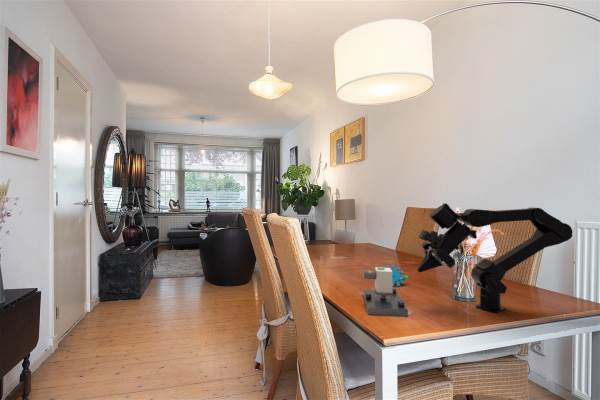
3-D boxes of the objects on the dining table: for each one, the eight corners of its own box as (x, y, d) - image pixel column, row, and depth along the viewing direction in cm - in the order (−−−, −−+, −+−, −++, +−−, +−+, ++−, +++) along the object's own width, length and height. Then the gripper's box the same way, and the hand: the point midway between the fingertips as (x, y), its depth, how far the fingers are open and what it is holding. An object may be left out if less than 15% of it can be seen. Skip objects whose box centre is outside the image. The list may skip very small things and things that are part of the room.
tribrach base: (396, 296, 116) (396, 287, 116) (408, 316, 96) (408, 305, 96) (363, 294, 117) (363, 286, 117) (368, 314, 97) (368, 304, 97)
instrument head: (390, 290, 109) (391, 266, 109) (393, 296, 103) (394, 269, 103) (363, 289, 110) (363, 265, 110) (364, 294, 104) (364, 269, 104)
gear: (380, 282, 128) (381, 262, 135) (378, 289, 132) (379, 269, 139) (408, 287, 126) (407, 266, 133) (405, 294, 130) (404, 274, 137)
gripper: (426, 219, 114) (395, 249, 115) (443, 223, 95) (406, 259, 97) (449, 241, 113) (418, 271, 114) (471, 249, 94) (433, 285, 96)
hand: (418, 271), depth 105 cm, fingers closed
